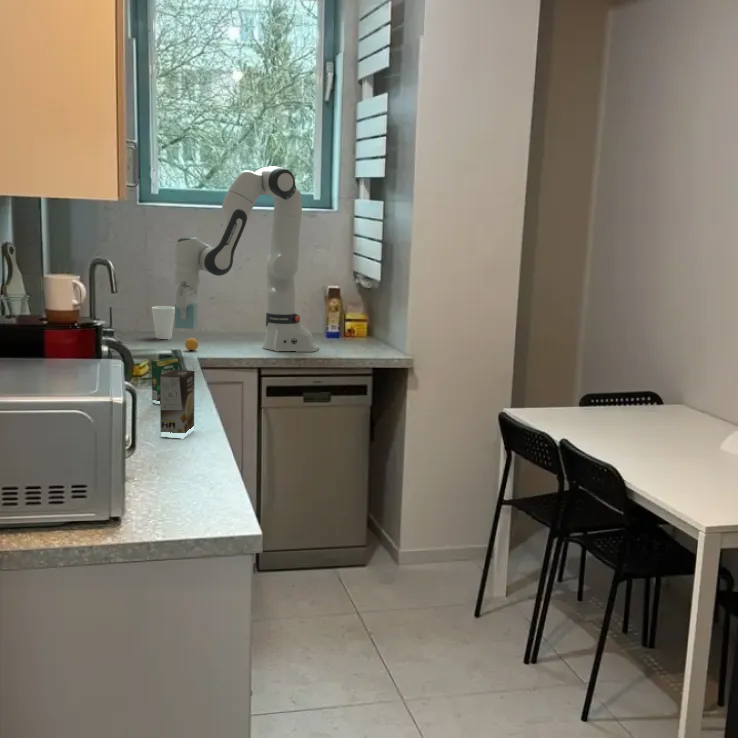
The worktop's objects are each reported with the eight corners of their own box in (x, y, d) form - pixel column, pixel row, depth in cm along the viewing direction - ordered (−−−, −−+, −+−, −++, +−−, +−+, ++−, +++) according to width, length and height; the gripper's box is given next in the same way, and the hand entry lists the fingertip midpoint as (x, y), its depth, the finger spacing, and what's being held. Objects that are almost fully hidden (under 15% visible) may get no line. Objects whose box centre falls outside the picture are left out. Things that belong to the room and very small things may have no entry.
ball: (199, 349, 351) (199, 337, 350) (196, 352, 346) (196, 339, 345) (186, 349, 351) (186, 336, 350) (183, 351, 346) (183, 338, 345)
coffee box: (184, 439, 225) (184, 377, 222) (159, 438, 226) (159, 375, 223) (195, 430, 234) (195, 370, 231) (171, 429, 235) (170, 368, 232)
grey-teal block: (197, 326, 341) (197, 303, 339) (193, 328, 334) (193, 305, 333) (178, 325, 341) (179, 302, 339) (174, 327, 334) (174, 304, 333)
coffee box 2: (157, 405, 259) (156, 360, 257) (151, 403, 261) (150, 359, 259) (179, 401, 265) (179, 357, 263) (173, 399, 267) (173, 356, 265)
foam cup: (151, 336, 377) (151, 306, 375) (173, 336, 380) (173, 306, 378) (153, 340, 368) (152, 309, 366) (176, 340, 371) (175, 308, 369)
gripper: (189, 283, 324) (188, 321, 327) (200, 278, 344) (199, 314, 347) (171, 282, 324) (171, 320, 327) (183, 277, 344) (183, 313, 347)
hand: (186, 317), depth 337 cm, fingers closed on grey-teal block, 7 cm apart
